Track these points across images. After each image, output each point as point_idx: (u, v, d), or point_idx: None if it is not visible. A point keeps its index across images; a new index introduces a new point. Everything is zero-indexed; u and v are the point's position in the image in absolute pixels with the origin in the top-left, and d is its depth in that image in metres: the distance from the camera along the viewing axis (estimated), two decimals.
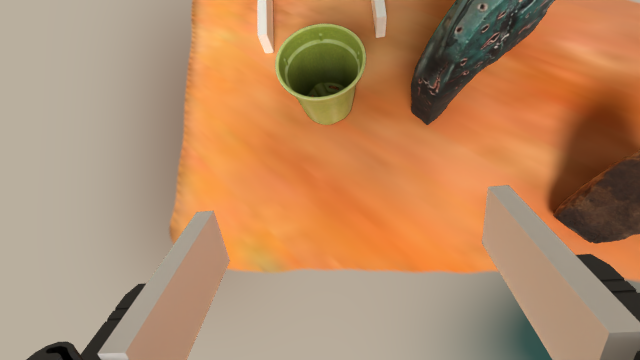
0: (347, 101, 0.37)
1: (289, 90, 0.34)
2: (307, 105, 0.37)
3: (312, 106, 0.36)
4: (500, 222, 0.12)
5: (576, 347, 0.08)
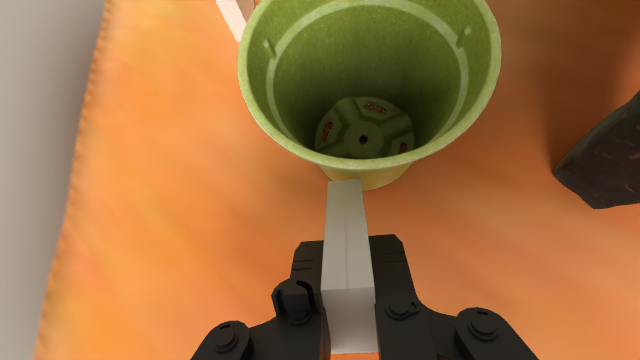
0: None
1: (272, 133, 0.11)
2: None
3: None
4: None
5: None
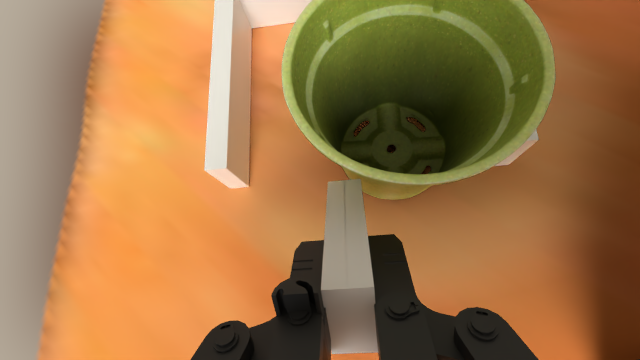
0: None
1: (293, 109, 0.12)
2: None
3: None
4: None
5: None
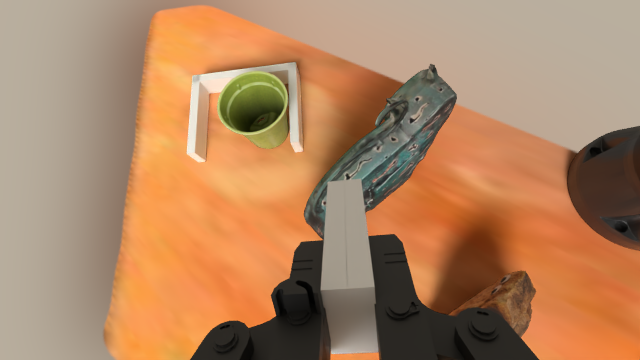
0: (264, 139, 0.46)
1: (218, 110, 0.44)
2: (235, 125, 0.46)
3: (236, 128, 0.46)
4: None
5: None
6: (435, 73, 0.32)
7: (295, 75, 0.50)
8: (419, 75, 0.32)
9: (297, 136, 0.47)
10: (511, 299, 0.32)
